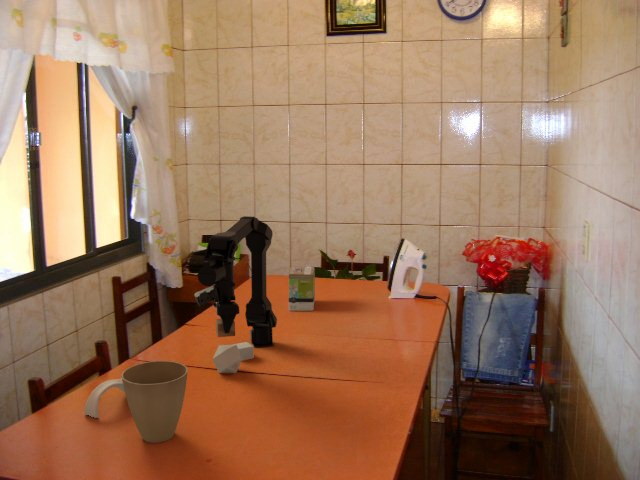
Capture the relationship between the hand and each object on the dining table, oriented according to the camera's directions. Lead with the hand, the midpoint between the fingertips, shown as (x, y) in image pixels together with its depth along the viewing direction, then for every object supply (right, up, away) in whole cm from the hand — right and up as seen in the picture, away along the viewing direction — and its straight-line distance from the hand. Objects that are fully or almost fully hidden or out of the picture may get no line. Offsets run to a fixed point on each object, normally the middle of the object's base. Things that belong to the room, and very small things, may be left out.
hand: (225, 330), depth 203 cm
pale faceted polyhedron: (0, -13, +2) cm, 13 cm away
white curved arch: (-24, -17, -19) cm, 35 cm away
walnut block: (0, -1, 0) cm, 1 cm away
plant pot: (-11, -20, -39) cm, 45 cm away
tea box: (+20, 0, +72) cm, 75 cm away
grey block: (+3, -10, +14) cm, 18 cm away
